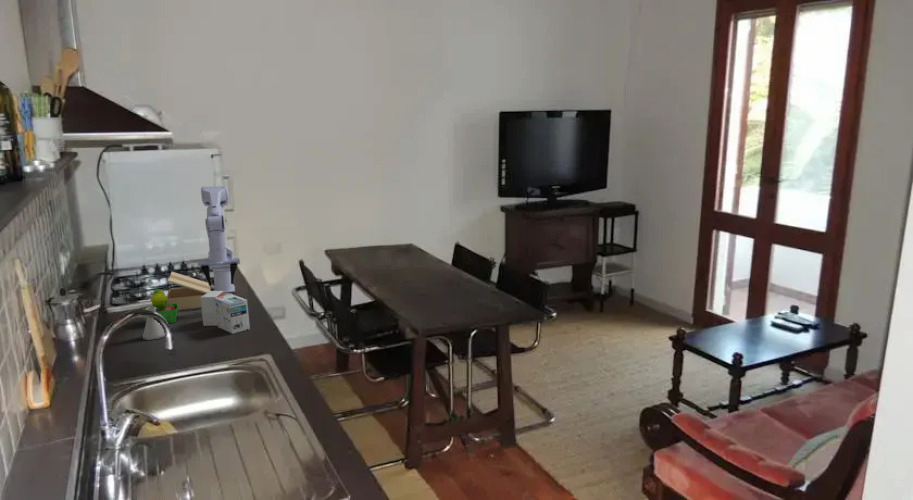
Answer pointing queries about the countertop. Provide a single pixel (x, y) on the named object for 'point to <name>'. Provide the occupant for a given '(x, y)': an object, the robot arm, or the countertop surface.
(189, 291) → the cardboard box
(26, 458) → the countertop surface
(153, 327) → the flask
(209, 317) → the small box
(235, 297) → the light bulb box
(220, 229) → the robot arm
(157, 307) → the fruit basket
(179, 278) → the cardboard lid
